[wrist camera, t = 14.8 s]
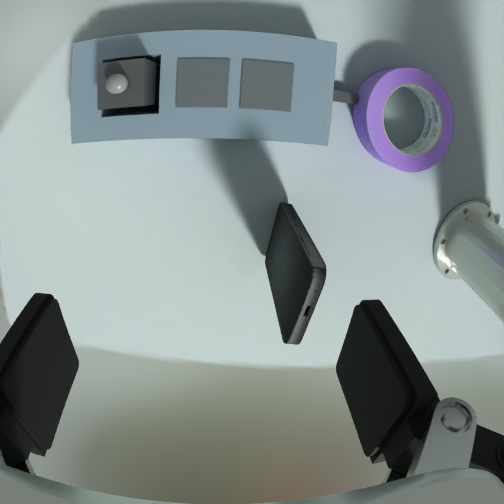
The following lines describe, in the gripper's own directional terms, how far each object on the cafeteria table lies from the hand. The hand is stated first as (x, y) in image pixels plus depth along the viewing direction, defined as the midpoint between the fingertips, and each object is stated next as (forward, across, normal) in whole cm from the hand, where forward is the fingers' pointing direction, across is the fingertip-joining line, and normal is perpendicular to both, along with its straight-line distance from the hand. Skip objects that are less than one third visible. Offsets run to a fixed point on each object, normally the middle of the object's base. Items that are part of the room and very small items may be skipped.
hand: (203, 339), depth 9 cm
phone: (+26, -7, +8) cm, 29 cm away
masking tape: (+27, -20, -7) cm, 34 cm away
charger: (+26, +8, -8) cm, 29 cm away
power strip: (+26, +2, -8) cm, 28 cm away
